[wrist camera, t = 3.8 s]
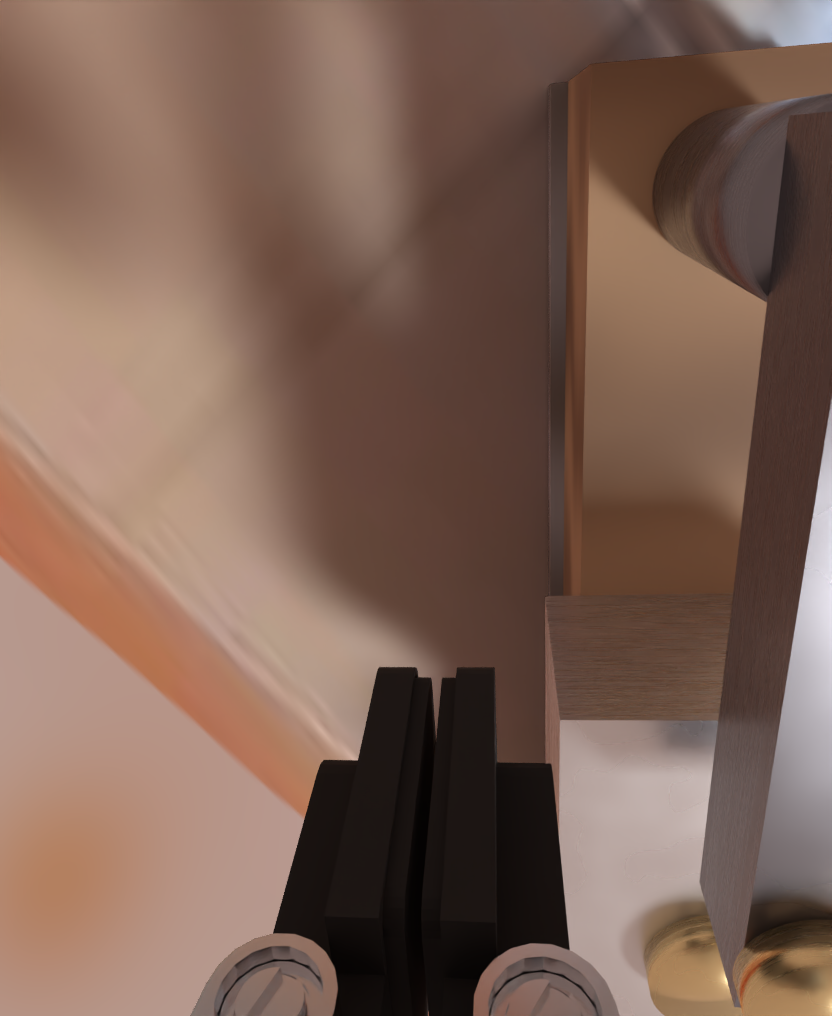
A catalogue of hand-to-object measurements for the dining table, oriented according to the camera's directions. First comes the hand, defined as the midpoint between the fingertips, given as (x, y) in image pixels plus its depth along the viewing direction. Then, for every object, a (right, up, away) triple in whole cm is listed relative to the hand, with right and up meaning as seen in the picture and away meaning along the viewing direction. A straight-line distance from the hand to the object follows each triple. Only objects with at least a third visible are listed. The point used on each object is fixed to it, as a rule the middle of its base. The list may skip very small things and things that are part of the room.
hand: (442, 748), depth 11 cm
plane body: (+6, +1, +11) cm, 13 cm away
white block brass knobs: (+6, -2, +7) cm, 9 cm away
